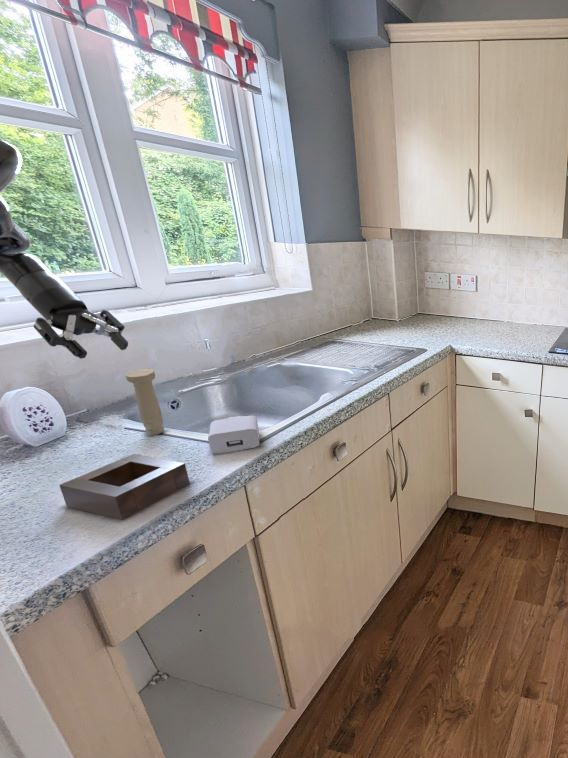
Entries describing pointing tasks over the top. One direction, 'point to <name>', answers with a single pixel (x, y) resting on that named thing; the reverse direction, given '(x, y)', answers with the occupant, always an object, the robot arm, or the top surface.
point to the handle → (147, 400)
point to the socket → (125, 486)
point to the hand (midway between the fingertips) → (105, 351)
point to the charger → (233, 434)
